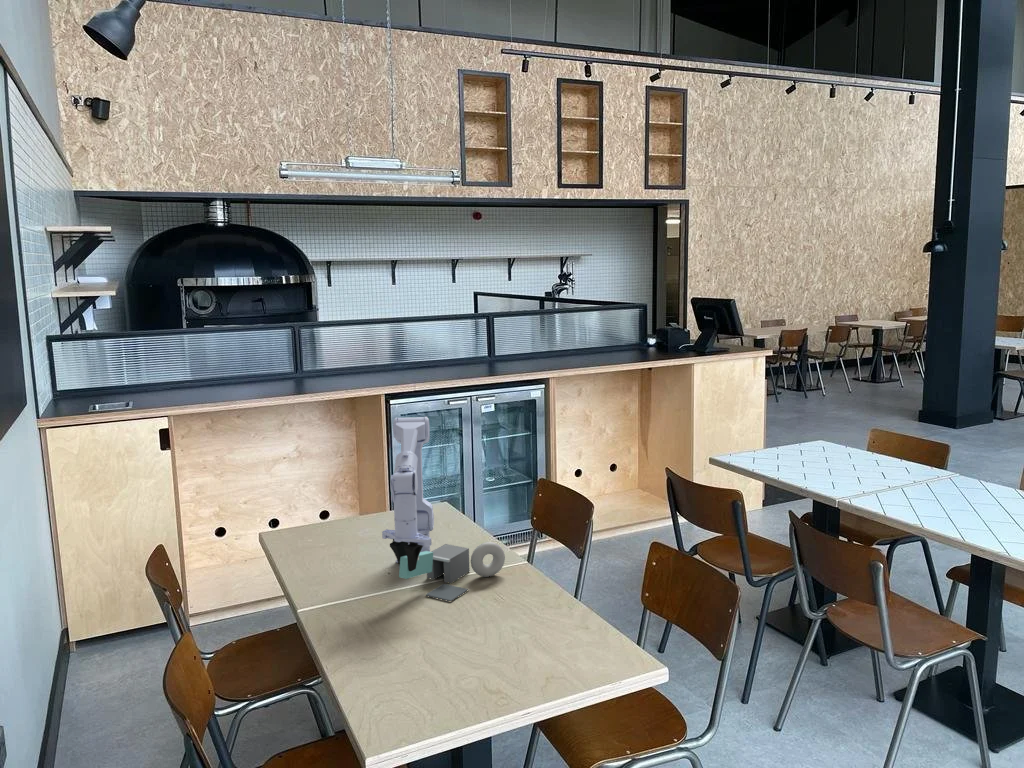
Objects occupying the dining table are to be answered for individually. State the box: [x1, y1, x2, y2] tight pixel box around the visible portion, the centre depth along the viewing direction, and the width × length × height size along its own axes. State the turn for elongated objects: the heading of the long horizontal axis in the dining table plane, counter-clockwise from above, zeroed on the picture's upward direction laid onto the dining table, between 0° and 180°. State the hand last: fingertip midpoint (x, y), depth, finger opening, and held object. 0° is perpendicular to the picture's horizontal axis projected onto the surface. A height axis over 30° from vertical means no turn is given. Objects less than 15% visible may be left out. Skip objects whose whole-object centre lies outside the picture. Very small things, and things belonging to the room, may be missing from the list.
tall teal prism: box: [398, 551, 433, 580], centre depth 200 cm, size 2×11×5 cm, turn 149°
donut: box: [470, 541, 506, 578], centre depth 212 cm, size 10×4×10 cm, turn 112°
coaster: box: [425, 583, 469, 602], centre depth 202 cm, size 8×8×1 cm
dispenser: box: [426, 543, 471, 584], centre depth 213 cm, size 8×10×7 cm
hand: (407, 568), depth 197 cm, fingers closed on tall teal prism, 2 cm apart
